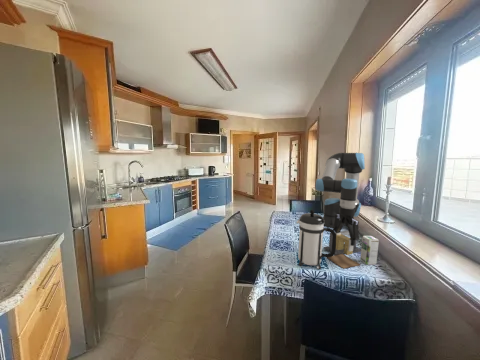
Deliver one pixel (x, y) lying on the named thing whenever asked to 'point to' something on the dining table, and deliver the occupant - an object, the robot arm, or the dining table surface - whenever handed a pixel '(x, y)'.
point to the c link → (340, 243)
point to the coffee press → (313, 239)
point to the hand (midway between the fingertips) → (344, 247)
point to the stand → (338, 252)
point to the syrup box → (369, 250)
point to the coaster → (343, 261)
